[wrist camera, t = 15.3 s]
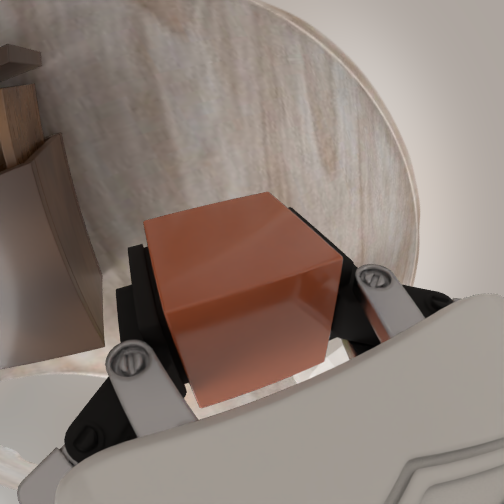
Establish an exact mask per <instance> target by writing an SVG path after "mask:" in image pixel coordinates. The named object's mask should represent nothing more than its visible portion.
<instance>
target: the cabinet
mask: <svg viewBox="0 0 504 504" xmlns="http://www.w3.org/2000/svg"><path fill="white" fill-rule="evenodd" d="M44 141H45V143H44V144H43V145H42V146H41V147H40V148H39V149H38V150H36V151H35V152H34V153H33V154H32V155H31V156H30V157H29V158H28V159H27V160H26V161H25V162H24V163H22V164H19V165H17V166H14V167H11V168H9V169H6V170H4V171H1V172H0V369H5V368H10V367H15V366H21V365H26V364H31V363H35V362H40V361H45V360H50V359H54V358H59V357H63V356H68V355H72V354H77V353H81V352H85V351H90V350H94V349H98V348H102V347H105V341H104V326H103V297H102V273H101V270H100V268H99V265H98V262H97V259H96V257H95V254H94V251H93V248H92V245H91V242H90V239H89V236H88V233H87V230H86V227H85V224H84V220H83V217H82V214H81V211H80V207H79V204H78V200H77V197H76V193H75V189H74V186H73V182H72V178H71V174H70V170H69V166H68V161H67V157H66V153H65V148H64V143H63V138H62V133H58V134H55V135H52V136H48V137H46V138H44Z"/></svg>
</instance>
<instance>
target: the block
mask: <svg viewBox="0 0 504 504" xmlns="http://www.w3.org/2000/svg"><path fill="white" fill-rule="evenodd" d="M143 225H144V230H145V235H146V240H147V245H148V250H149V254H150V259H151V264H152V268H153V272H154V277H155V281H156V285H157V289H158V293H159V298H160V301H161V305H162V309H163V313H164V316H165V319H166V322H167V325H168V328H169V331H170V333H171V336H172V339H173V342H174V345H175V347H176V350H177V353H178V355H179V358H180V361H181V363H182V366H183V368H184V371H185V374H186V376H187V379H188V381H189V384H190V386H191V389H192V391H193V393H194V396H195V398H196V401H197V403H198V405H199V407H200V408H204V407H207V406H210V405H214V404H217V403H220V402H223V401H226V400H229V399H232V398H235V397H238V396H240V395H243V394H246V393H249V392H252V391H254V390H257V389H260V388H262V387H265V386H268V385H270V384H273V383H275V382H278V381H280V380H283V379H285V378H288V377H290V376H293V375H295V374H298V373H300V372H302V371H305V370H307V369H309V368H312V367H314V366H316V365H318V364H321V363H323V362H324V361H325V357H326V352H327V347H328V343H329V338H330V333H331V328H332V323H333V317H334V312H335V307H336V301H337V295H338V290H339V284H340V277H341V271H342V265H343V257H342V256H341V255H340V254H339V253H338V252H337V251H336V250H335V249H334V248H332V247H331V246H330V245H329V244H328V243H327V242H326V241H325V240H324V239H322V238H321V237H320V236H319V235H318V234H317V233H316V232H315V231H314V230H312V229H311V228H310V227H309V226H308V225H307V224H306V223H304V222H303V221H302V220H301V219H300V218H299V217H298V216H296V215H295V214H294V213H293V212H292V211H291V210H290V209H288V208H287V207H286V206H285V205H284V204H283V203H281V202H280V201H279V200H278V199H277V198H275V197H274V196H273V195H272V194H271V193H270V192H264V193H259V194H254V195H249V196H245V197H240V198H236V199H231V200H227V201H222V202H218V203H214V204H209V205H205V206H201V207H197V208H192V209H188V210H184V211H180V212H176V213H172V214H168V215H164V216H160V217H156V218H152V219H149V220H145V221H144V222H143Z"/></svg>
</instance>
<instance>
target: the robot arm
mask: <svg viewBox="0 0 504 504" xmlns="http://www.w3.org/2000/svg"><path fill="white" fill-rule="evenodd" d="M288 209H290V210H291V211H292V212H293V213H294V214H295V215H296V216H298V217H299V218H300V219H301V220H302V221H303V222H304V223H306V224H307V225H308V226H309V227H310V228H311V229H312V230H314V231H315V232H316V233H317V234H318V235H319V236H320V237H321V238H322V239H324V240H325V241H326V242H327V243H328V244H329V245H330V246H331V247H332V248H334V249H335V250H336V251H337V252H338V253H339V254H340V255H341V256H342V257H343V265H342V271H341V277H340V284H339V290H338V295H337V301H336V307H335V312H334V317H333V323H332V328H331V333H330V338H329V341H330V340H332V339H334V338H337V337H338V338H340V339H341V340H342V344H343V346H344V348H345V351H346V353H347V355H348V357H349V360H348V361H346V362H344V363H342V364H340V365H338V366H336V367H334V368H332V369H330V370H327V371H325V372H323V373H321V374H319V375H317V376H314V377H312V378H310V379H308V380H305V381H303V382H301V383H298V384H296V385H294V386H291V387H289V388H286V389H284V390H281V391H279V392H277V393H274V394H272V395H269V396H266V397H264V398H261V399H259V400H256V401H253V402H251V403H248V404H245V405H242V406H240V407H237V408H234V409H231V410H228V411H225V412H222V413H219V414H216V415H213V416H210V417H207V418H204V419H201V420H198V419H197V417H196V416H195V414H194V413H193V411H192V410H191V409H190V407H189V406H188V404H187V403H186V401H185V400H184V397H185V395H186V393H187V391H186V388H185V385H184V384H186V383H189V381H188V379H187V376H186V374H185V371H184V368H183V366H182V363H181V361H180V358H179V355H178V353H177V350H176V347H175V345H174V342H173V339H172V336H171V333H170V331H169V328H168V325H167V322H166V319H165V316H164V313H163V309H162V305H161V301H160V298H159V293H158V289H157V285H156V281H155V277H154V272H153V268H152V264H151V259H150V254H149V250H148V247H145V248H144V247H143V244H140V245H136V246H133V247H129V248H128V256H129V265H130V273H131V281H132V285H129V286H126V287H122V288H119V289H116V300H117V312H118V323H119V332H120V341H121V343H120V344H118V345H116V346H115V347H114V348H113V349H112V350H111V351H110V352H109V354H108V356H107V358H106V363H105V366H106V371H107V373H108V375H109V377H108V378H107V379H106V381H105V382H104V383H103V384H102V386H101V387H100V388H99V390H98V391H97V392H96V393H95V394H94V396H93V397H92V398H91V400H90V401H89V402H88V403H87V405H86V406H85V407H84V408H83V410H82V411H81V412H80V414H79V415H78V416H77V418H76V419H75V420H74V421H73V423H72V424H71V425H70V427H69V428H68V430H67V432H66V435H65V439H64V440H65V445H64V446H63V447H62V448H61V449H58V448H55V449H54V450H53V451H52V452H51V453H50V454H49V455H48V456H47V457H46V458H45V459H44V460H43V461H42V462H41V463H40V464H39V465H38V466H37V467H36V468H35V469H34V470H33V471H32V472H31V473H30V474H29V475H28V476H27V477H26V478H25V479H24V480H23V481H22V482H21V483H20V485H19V486H18V491H17V495H18V501H19V503H20V504H504V297H502V296H501V295H498V294H478V295H473V296H470V297H466V298H463V299H458V298H453V300H452V299H451V298H449V297H448V296H447V295H445V294H443V293H440V292H436V291H431V290H426V289H421V288H416V287H411V286H406V285H401V283H400V282H399V281H398V279H397V278H396V277H395V275H394V274H393V273H392V272H391V271H390V270H389V269H387V268H385V267H383V266H380V265H376V264H367V265H363V266H361V267H359V268H357V267H356V266H355V265H354V264H353V263H354V262H353V261H352V260H351V259H350V258H348V257H347V256H346V255H345V254H344V253H343V252H342V251H341V250H340V249H338V248H337V247H336V246H335V245H334V244H333V243H332V242H331V241H329V240H328V239H327V238H326V237H325V236H324V235H323V234H322V233H320V232H319V231H318V230H317V229H316V228H315V227H314V226H312V225H311V224H310V223H309V222H308V221H307V220H305V219H304V218H303V217H302V216H301V215H300V214H298V213H297V212H296V211H295V210H294V209H293V208H291V207H289V208H288Z"/></svg>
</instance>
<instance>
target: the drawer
mask: <svg viewBox="0 0 504 504" xmlns="http://www.w3.org/2000/svg"><path fill="white" fill-rule="evenodd" d="M41 65H42V62H41V52H38V51H34V50H30V49H26V48H23V47H19V46H15V45H10V44H6V45H4V46H2V47H0V82H2V81H4V80H6V79H9V78H11V77H13V76H16V75H18V74H21V73H23V72H26V71H28V70H31V69H34V68H37V67H39V66H41ZM44 143H45V141H44V137H43V132H42V127H41V121H40V116H39V110H38V104H37V97H36V90H35V84H29V85H21V86H13V87H6V88H1V89H0V172H1V171H4V170H6V169H9V168H11V167H14V166H17V165H19V164H22V163H24V162H25V161H26V160H27V159H28V158H29V157H30V156H31V155H32V154H33V153H34V152H35V151H36V150H38V149H39V148H40V147H41V146H42V145H43V144H44Z"/></svg>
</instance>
